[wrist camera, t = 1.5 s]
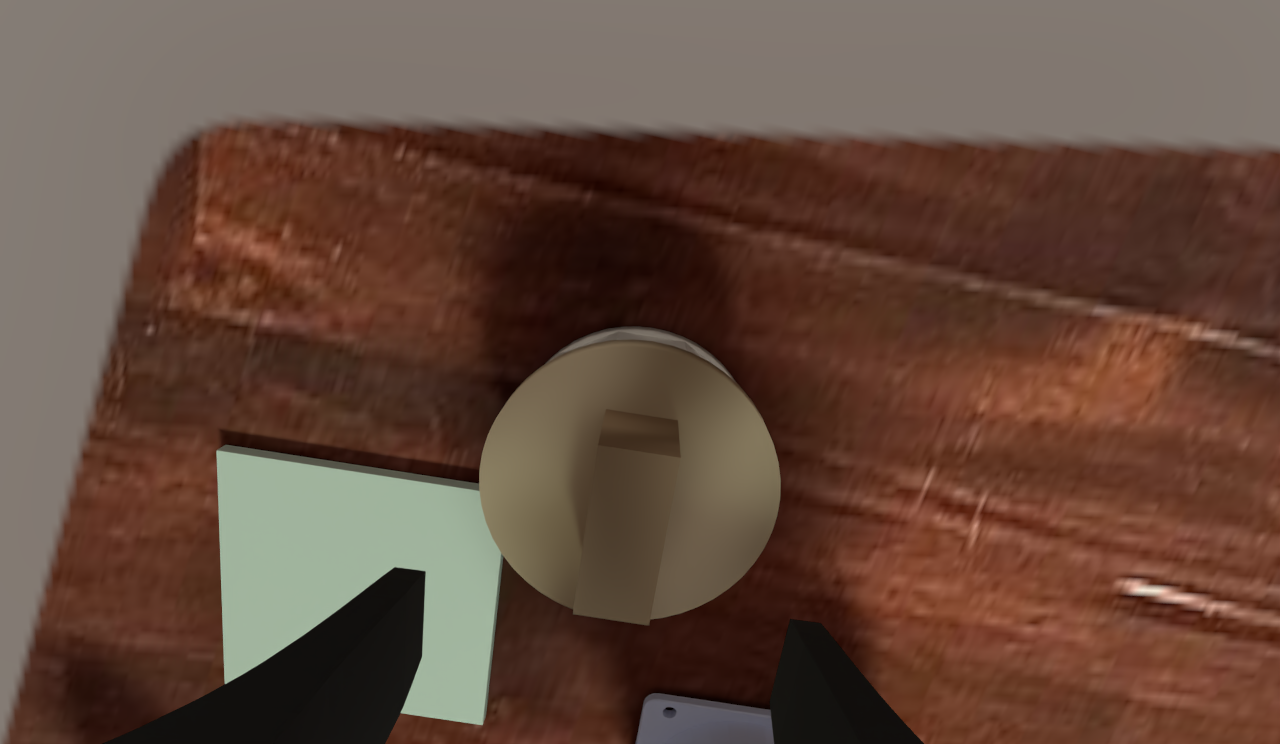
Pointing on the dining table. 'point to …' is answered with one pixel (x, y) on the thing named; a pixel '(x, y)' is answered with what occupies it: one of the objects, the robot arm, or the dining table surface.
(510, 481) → the lid
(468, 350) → the dining table surface
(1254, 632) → the dining table surface
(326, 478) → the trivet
